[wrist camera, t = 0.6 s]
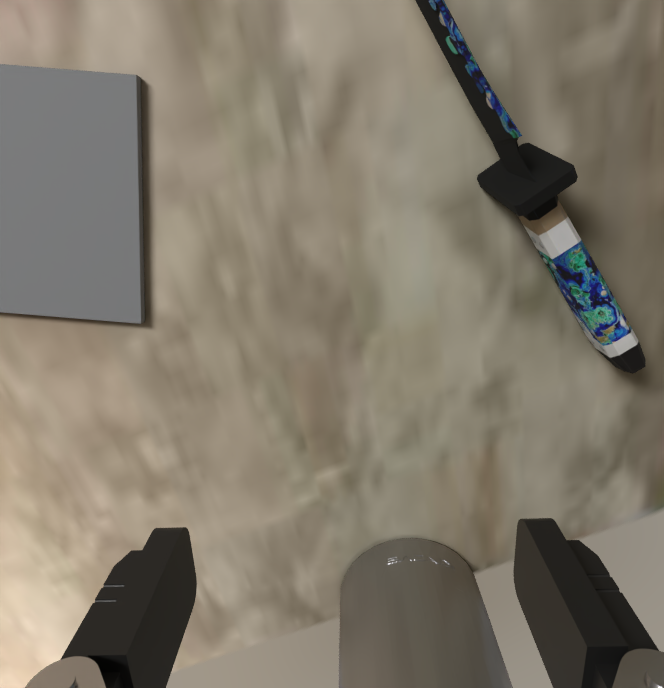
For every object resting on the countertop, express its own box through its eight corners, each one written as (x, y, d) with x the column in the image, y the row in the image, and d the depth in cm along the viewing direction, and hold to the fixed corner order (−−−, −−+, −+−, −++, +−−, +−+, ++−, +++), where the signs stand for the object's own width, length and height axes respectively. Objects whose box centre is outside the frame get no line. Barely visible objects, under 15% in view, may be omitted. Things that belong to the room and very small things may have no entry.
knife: (613, 338, 32) (661, 367, 28) (566, 364, 32) (607, 396, 28) (348, -250, 22) (360, -346, 18) (287, -202, 22) (283, -285, 18)
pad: (145, 321, 31) (141, 323, 30) (-77, 303, 31) (-85, 305, 30) (140, 77, 27) (136, 75, 27) (-109, 57, 27) (-119, 54, 27)
